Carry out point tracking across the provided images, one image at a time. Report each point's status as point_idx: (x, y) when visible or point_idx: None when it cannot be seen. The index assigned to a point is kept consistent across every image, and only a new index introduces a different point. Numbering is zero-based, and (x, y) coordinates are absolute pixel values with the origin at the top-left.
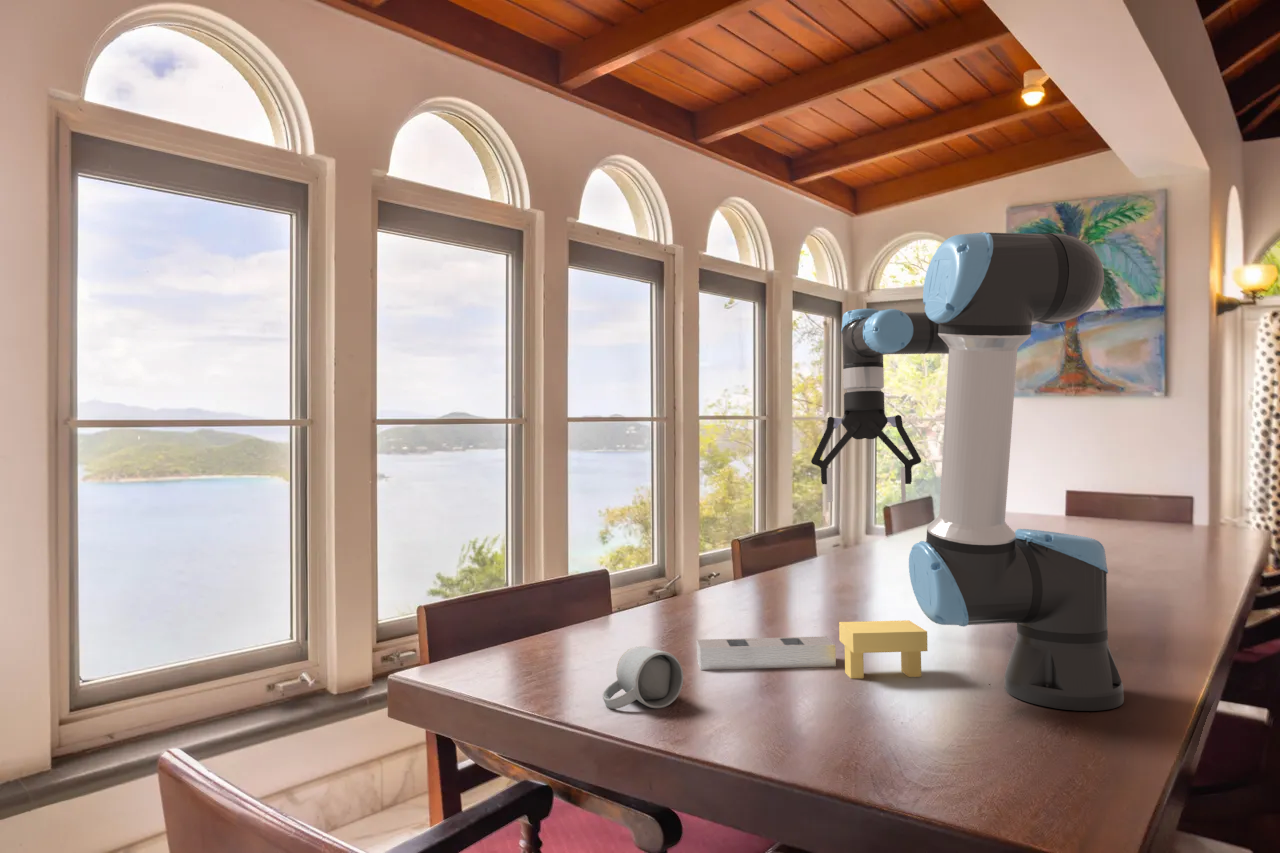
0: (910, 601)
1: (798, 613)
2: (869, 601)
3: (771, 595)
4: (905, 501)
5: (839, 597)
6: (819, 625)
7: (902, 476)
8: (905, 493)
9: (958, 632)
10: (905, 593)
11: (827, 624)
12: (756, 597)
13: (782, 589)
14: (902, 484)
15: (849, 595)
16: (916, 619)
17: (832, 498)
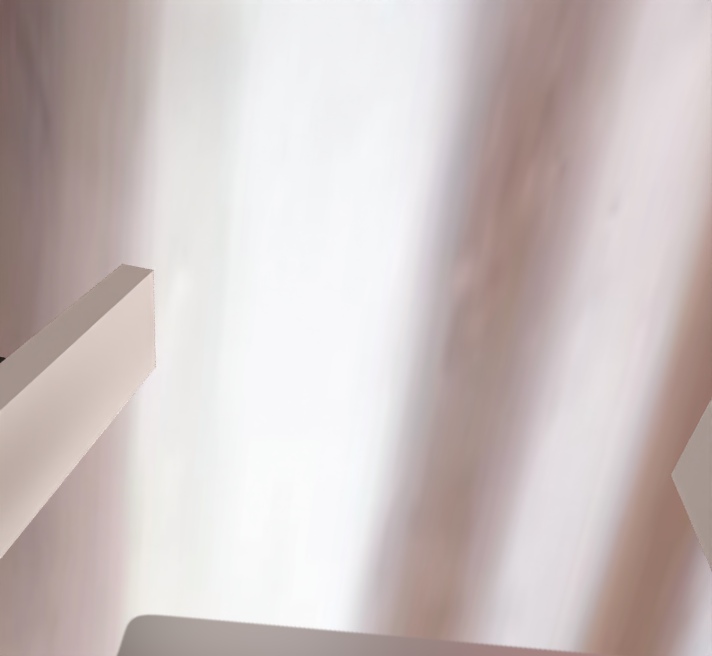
0: (274, 504)
1: (625, 378)
2: (381, 509)
3: (651, 588)
4: (121, 268)
5: (456, 555)
6: (595, 220)
7: (9, 383)
8: (85, 295)
9: (178, 147)
10: (277, 582)
11: (564, 235)
12: (706, 570)
13: (599, 647)
14: (63, 340)
15: (424, 573)
16: (281, 306)
17: (681, 482)
